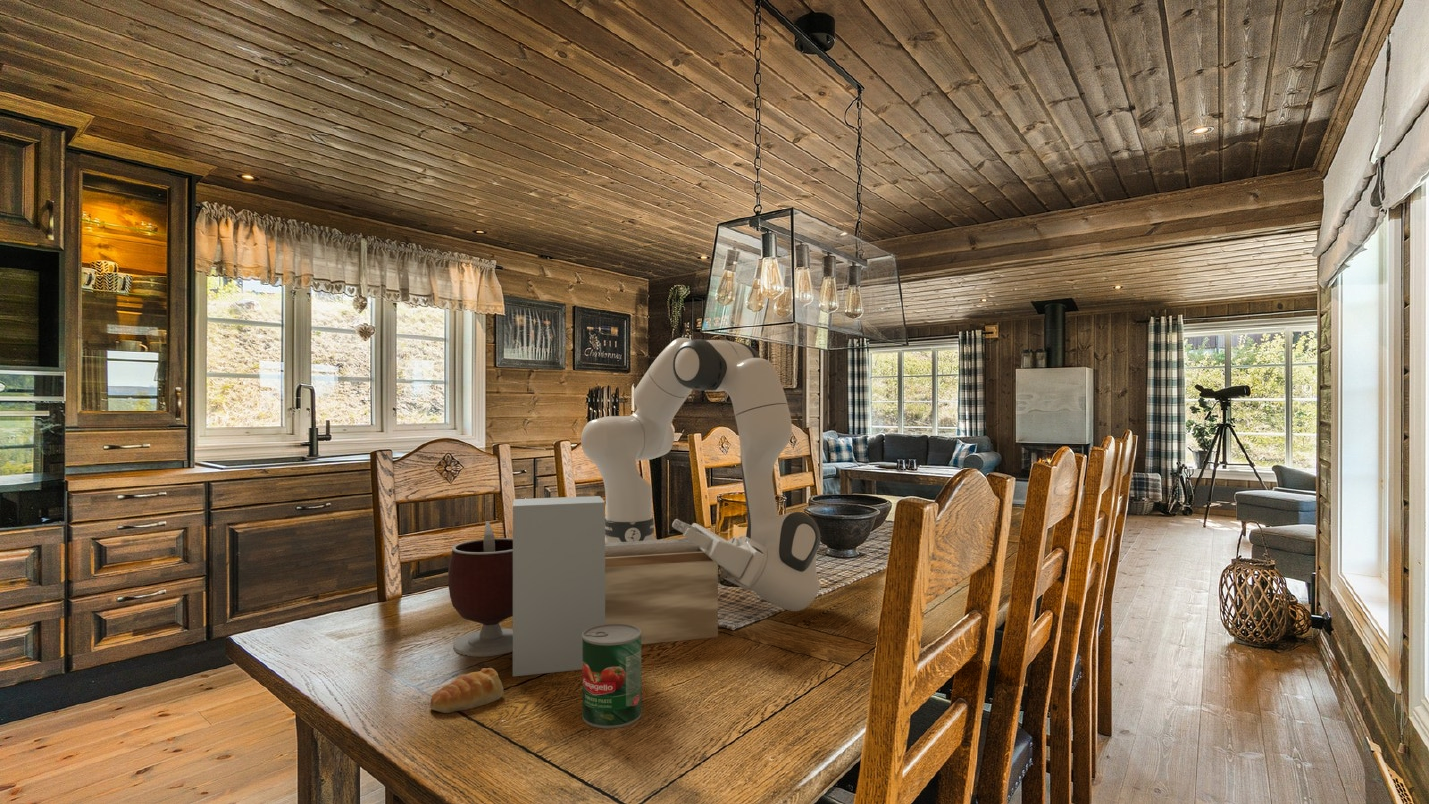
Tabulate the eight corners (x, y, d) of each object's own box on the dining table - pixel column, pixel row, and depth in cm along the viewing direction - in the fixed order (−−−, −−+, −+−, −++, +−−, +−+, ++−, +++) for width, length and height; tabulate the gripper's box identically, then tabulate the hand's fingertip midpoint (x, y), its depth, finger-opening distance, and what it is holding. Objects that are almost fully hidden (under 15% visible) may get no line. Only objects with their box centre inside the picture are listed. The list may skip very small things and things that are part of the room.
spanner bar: (593, 560, 122) (593, 543, 122) (700, 553, 127) (700, 537, 127) (595, 564, 119) (595, 546, 119) (704, 556, 124) (704, 540, 124)
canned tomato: (644, 702, 94) (644, 622, 94) (639, 728, 86) (639, 642, 86) (587, 702, 94) (587, 623, 94) (576, 729, 86) (576, 643, 86)
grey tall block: (513, 658, 111) (513, 499, 111) (599, 649, 114) (599, 496, 115) (512, 676, 103) (512, 506, 103) (605, 667, 107) (605, 502, 107)
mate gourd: (537, 651, 114) (537, 532, 114) (449, 663, 108) (449, 538, 109) (525, 624, 128) (525, 518, 128) (447, 633, 123) (447, 523, 123)
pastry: (444, 722, 89) (444, 693, 89) (420, 708, 93) (420, 680, 93) (507, 699, 96) (507, 671, 96) (482, 686, 100) (482, 660, 100)
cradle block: (582, 629, 125) (582, 548, 125) (702, 618, 131) (702, 541, 131) (587, 649, 114) (587, 561, 114) (717, 637, 121) (717, 552, 121)
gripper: (733, 535, 138) (675, 504, 135) (767, 556, 118) (701, 520, 115) (718, 563, 137) (660, 532, 134) (750, 589, 117) (683, 553, 114)
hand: (679, 527), depth 124 cm, fingers open, 8 cm apart
